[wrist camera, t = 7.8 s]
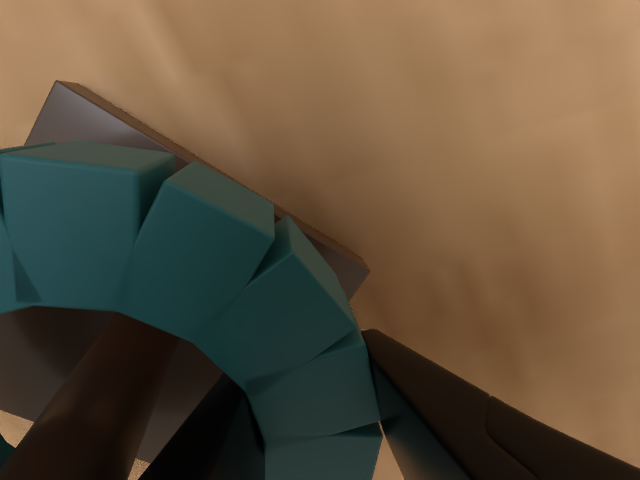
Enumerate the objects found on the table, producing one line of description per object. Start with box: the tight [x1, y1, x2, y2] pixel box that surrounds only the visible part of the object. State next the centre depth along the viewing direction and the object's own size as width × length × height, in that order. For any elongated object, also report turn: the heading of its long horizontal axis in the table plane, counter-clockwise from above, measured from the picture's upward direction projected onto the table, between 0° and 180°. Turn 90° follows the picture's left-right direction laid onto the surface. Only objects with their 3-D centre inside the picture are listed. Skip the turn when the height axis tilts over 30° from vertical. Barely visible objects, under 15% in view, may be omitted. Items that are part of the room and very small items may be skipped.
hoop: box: [0, 140, 383, 480], centre depth 8 cm, size 11×11×2 cm
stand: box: [0, 80, 370, 480], centre depth 9 cm, size 10×10×8 cm
